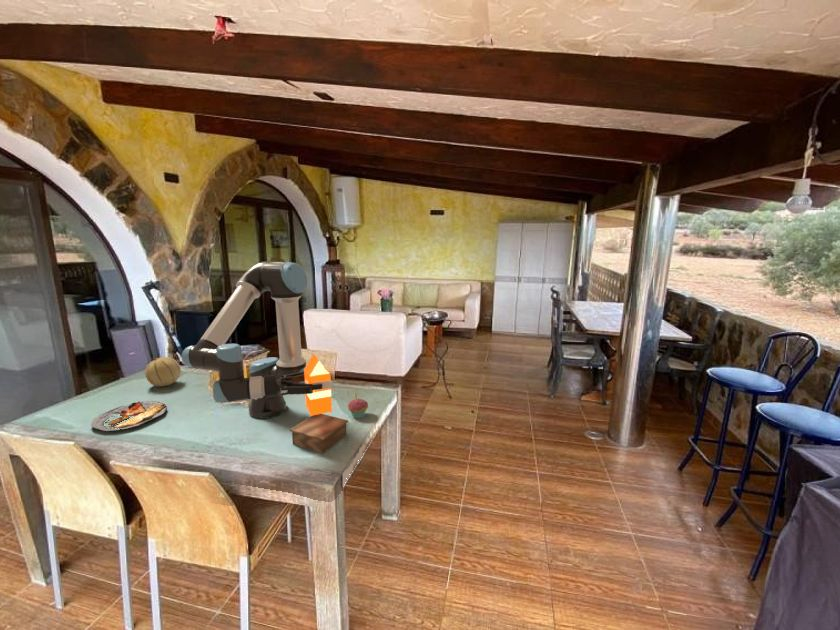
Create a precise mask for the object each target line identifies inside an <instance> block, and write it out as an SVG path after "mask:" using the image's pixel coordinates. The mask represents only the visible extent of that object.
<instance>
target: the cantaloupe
mask: <svg viewBox="0 0 840 630" xmlns="http://www.w3.org/2000/svg"><path fill="white" fill-rule="evenodd" d="M144 371H145V372H144V374H145V378H146V380H147V382H149V384H151V385H153V386H155V387H168V386H171V385H172V384H174V383H175V382H176V381H178V379H179V378H180V376H181V374H182V370H181V366H180V364H179V363H178V362H177V360H175V359H174V358H172V357H167V356H161V357H158V358H157V357H153V359H152V360H151V361H150V362H149V363H148V364H147V365H146V367H145V370H144Z"/></svg>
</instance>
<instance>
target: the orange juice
mask: <svg viewBox="0 0 840 630" xmlns="http://www.w3.org/2000/svg"><path fill="white" fill-rule="evenodd" d="M304 377H305V383H307V384H312V382H320V381H329V380H331V373H330V370H328V369H327V368H326V366H325V365H323V363H322V362H321V361H320V360H319V358H318V357H317V356H316V355H315V353H313V354H312V356H311V358H310V359H309V361H308V363H306V367H305V369H304ZM331 381H332V380H331ZM304 395H305V407H306V409H307V411H308V413H309V415H310V417H311V416H312V415H317V414H327V413H332V412H333V407H332V388H329V389H321V390H313V393H312V394H304Z"/></svg>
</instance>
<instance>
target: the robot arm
mask: <svg viewBox="0 0 840 630" xmlns="http://www.w3.org/2000/svg"><path fill="white" fill-rule="evenodd" d="M307 286H308V275H307V272H306V270H305V269H304V267H303V266H302V265H301V264H300V263H296V262H291V261H269V260H268V261H267V260H265V261H261V262H258V263H256V264H254V265H253V266H251V267H250V268H249V269H247V270H246V271H245V272H244V273H243V274H242V275H241V276H240V278H239V279H238V281H237V282H236V284H235V287H236V288H235V290H234V291H233V293H232V294H231V295H230V297H228V300H226V302H225V304H224V306H222V307H221V309H220V311H219V312H218V313H217V315H216V316H215V318H214V319H213V321H212V322H211V323H210V325H209V326H208V327H207V328H206V330H205V332H204V334H203V335H202V336H201V338H200V339H199V340H198V342H197V343H196V344H194V345H189V346H187V347H185V348H184V349H183V351H182V354H181V361H182V363H183V364H184V365H185V366H186V367H189V368H193V369H195V370H197V369H198V370H205V371H211V372H215V373H218V378H219V379H218V380H215V381H214V382H213V384H212V396H213V400H214V401H215V403H218V404H223V403H232V402H239V401H247V400H250V405H249V406H248V414H249V416H250V417H251V418H254V419H269V418H274V417H278V416H280V415H282V414H283V413H284V412H286V410H287V402H286V400H285V398H284V396H286V395H297V396H298V395H305V394H312V393H313V390H321V389H329V388H331V389H332V388H333V385H332V384H333V383H332V382H333V381H332V380H329V381H320V382H312V384H307V383H305V377H304V369H305V367H306V365H307V361H306V359H305V358H304V357H303V356H302V345H301V344H302V342H301V341H302V340H301V338H302V337H301V324H300V309H299V300H300V299H301V297H303V293H304V292H305V290H306V289H307ZM265 292H270V298H271V299H272V300H274V302H275V313H276V314H275V315H276V325H277V326H276V328H277V339H278V340H277V341H278V353H279V354H278V355H279V358H278V357H276V356H275V357H274V356H272V357H270V356H269V357H264V358H260V359H257V360H254V361H253V362H251V363H250V365H249V377H245V372H244V361H243V360H244V359H243V358H244V355H243V352H242V351H243V350H242V347H241V345H240V344H238V343H226V342H227V341H228V340H229V338H230V336H232V334H233V333H234V331H235V329H236V328H237V326H238V325H239V323H240V321H241V320H242V319H243V317H244V316H245V314H246V313H247V311H248V310H249V308H250V306H251V305H252V304H253V302H254V300H255V299H259V298H260V297H261V295H262V294H263V293H265Z"/></svg>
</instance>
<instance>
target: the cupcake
mask: <svg viewBox="0 0 840 630" xmlns="http://www.w3.org/2000/svg"><path fill="white" fill-rule="evenodd" d="M357 393H358V392H357V391H354V396H355V399H352V400H351V401H350V402H348V404H347V409H348V411H350V412H351V415H352V417H353V418H354V419H361V418H363V417H364V416H365V413H366V411H367V410H368V408H369V404H368V402H367V400H364V399H362V398H358V395H357Z"/></svg>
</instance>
